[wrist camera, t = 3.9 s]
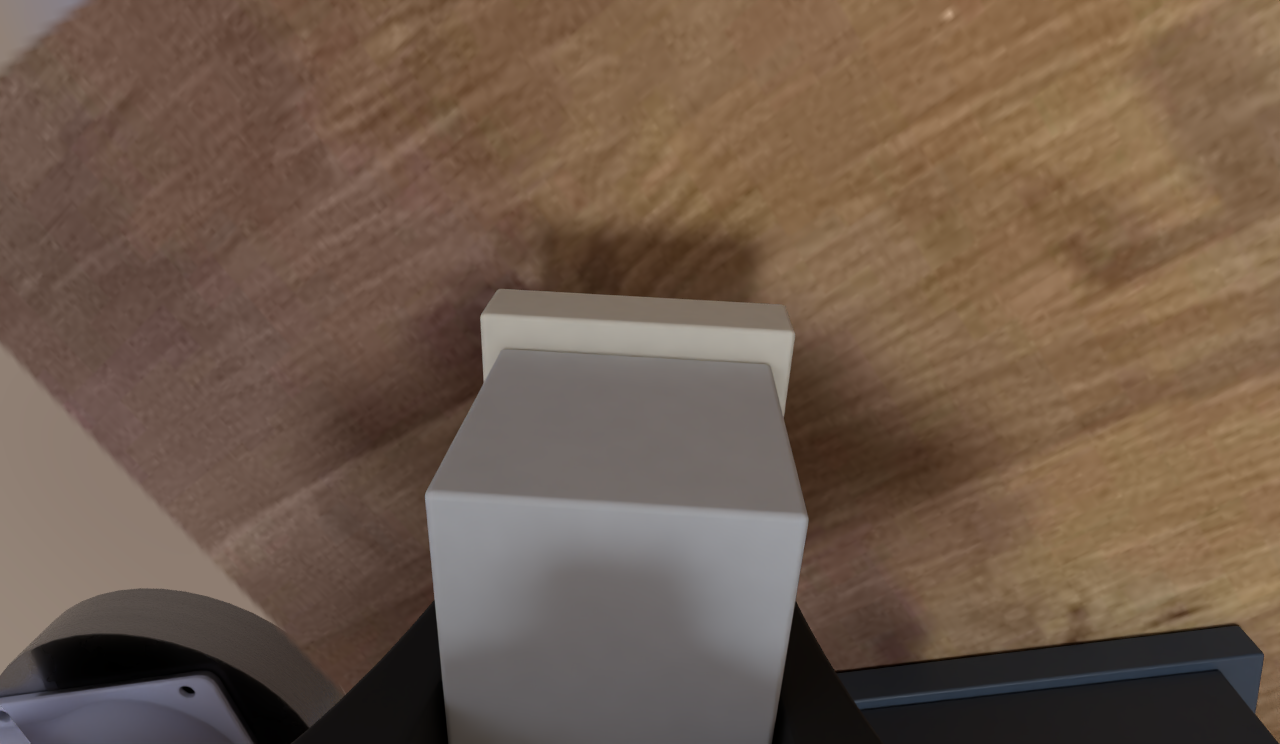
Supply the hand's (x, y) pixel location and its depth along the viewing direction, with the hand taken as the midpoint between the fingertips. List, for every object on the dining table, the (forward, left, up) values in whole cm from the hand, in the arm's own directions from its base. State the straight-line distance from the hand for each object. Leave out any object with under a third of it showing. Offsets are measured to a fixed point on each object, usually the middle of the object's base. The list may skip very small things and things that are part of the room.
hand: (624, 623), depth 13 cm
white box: (0, 0, -2) cm, 2 cm away
